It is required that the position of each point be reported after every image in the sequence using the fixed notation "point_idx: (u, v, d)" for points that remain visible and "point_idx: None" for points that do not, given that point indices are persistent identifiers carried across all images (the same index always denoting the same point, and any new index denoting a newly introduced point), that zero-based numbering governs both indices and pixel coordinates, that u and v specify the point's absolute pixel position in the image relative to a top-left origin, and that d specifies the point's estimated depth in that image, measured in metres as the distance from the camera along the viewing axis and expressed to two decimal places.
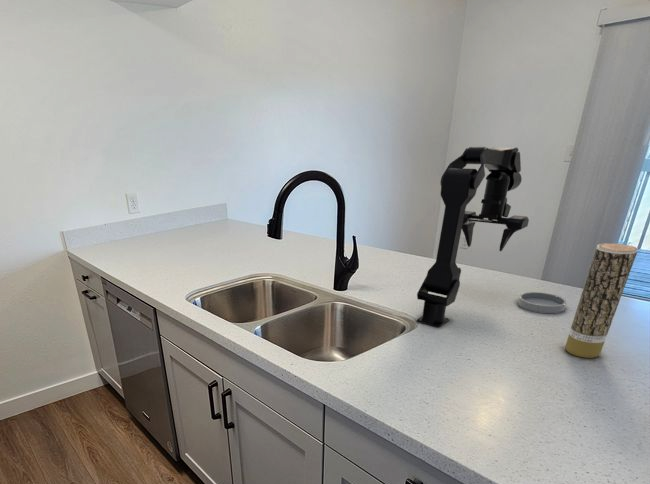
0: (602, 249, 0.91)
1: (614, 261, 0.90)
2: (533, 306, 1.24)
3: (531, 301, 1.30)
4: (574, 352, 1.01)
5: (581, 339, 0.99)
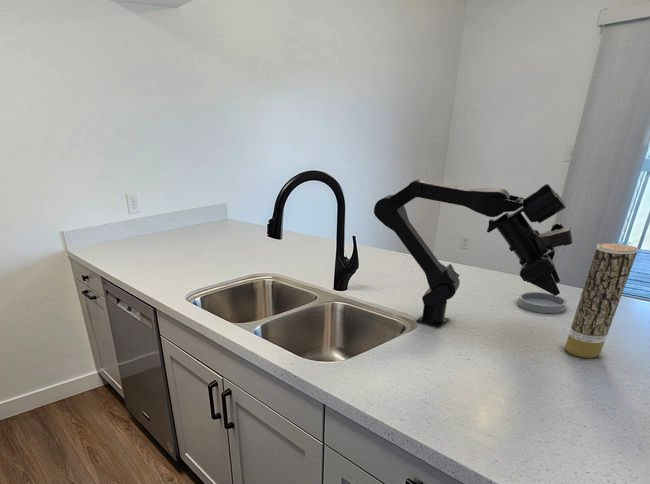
0: (602, 249, 0.91)
1: (614, 261, 0.90)
2: (533, 306, 1.24)
3: (531, 301, 1.30)
4: (574, 352, 1.01)
5: (581, 339, 0.99)
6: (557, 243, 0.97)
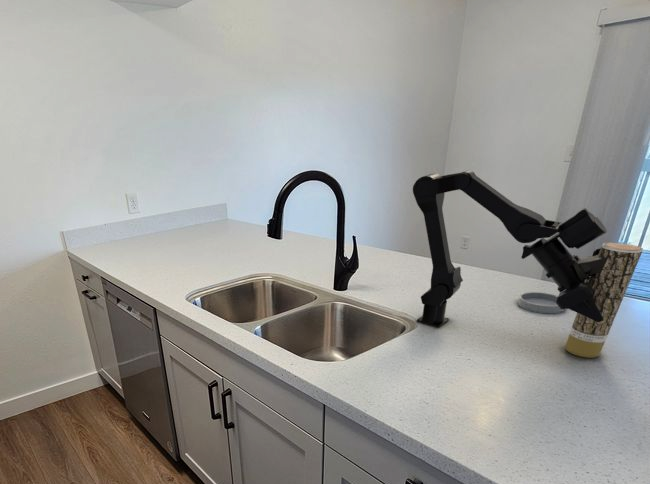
0: (608, 247, 0.91)
1: (619, 259, 0.89)
2: (533, 306, 1.24)
3: (531, 301, 1.30)
4: (574, 351, 1.00)
5: (582, 338, 0.98)
6: (598, 269, 0.93)
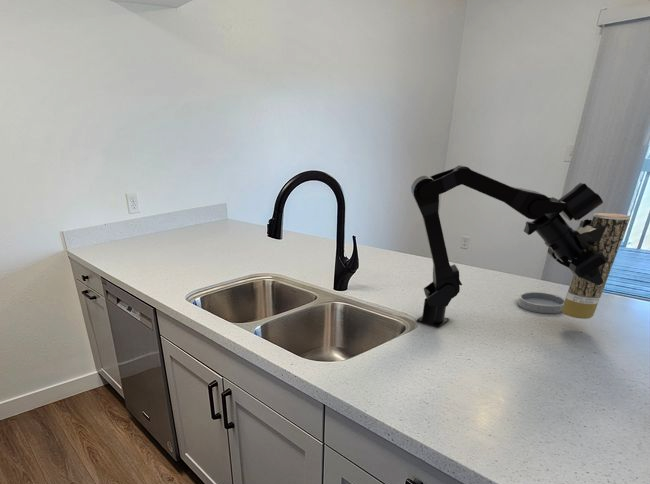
0: (605, 216, 1.00)
1: (617, 226, 0.99)
2: (533, 306, 1.24)
3: (531, 301, 1.30)
4: (577, 315, 1.09)
5: (584, 301, 1.07)
6: (598, 237, 1.02)
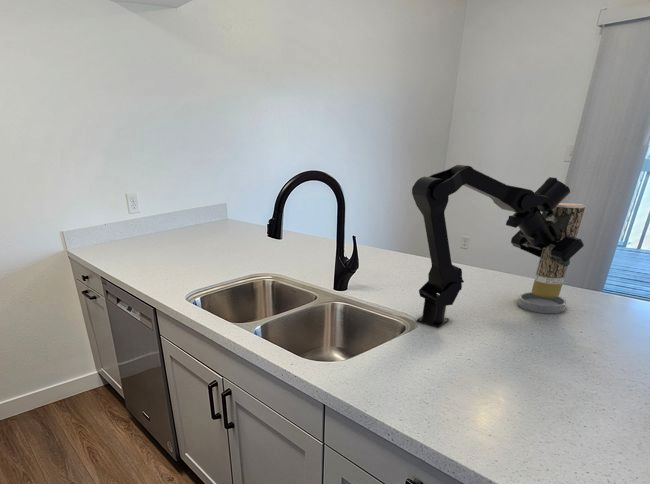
0: (570, 206, 1.13)
1: (579, 214, 1.13)
2: (533, 306, 1.24)
3: (531, 301, 1.30)
4: (550, 295, 1.22)
5: (555, 282, 1.20)
6: (565, 225, 1.14)
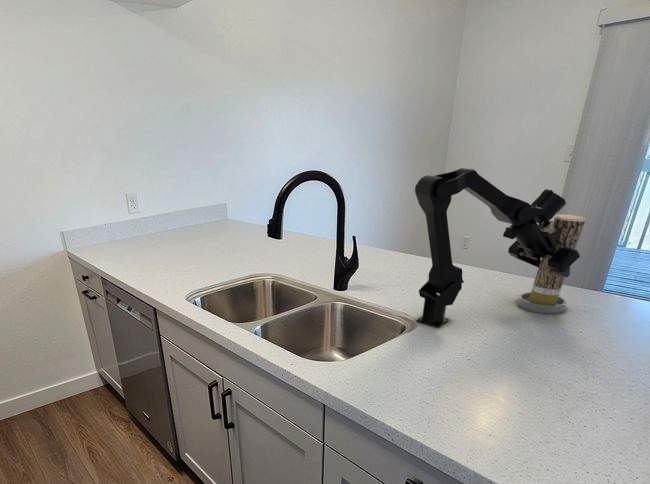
0: (570, 219, 1.13)
1: (579, 227, 1.14)
2: (533, 306, 1.24)
3: None
4: None
5: (552, 293, 1.22)
6: None
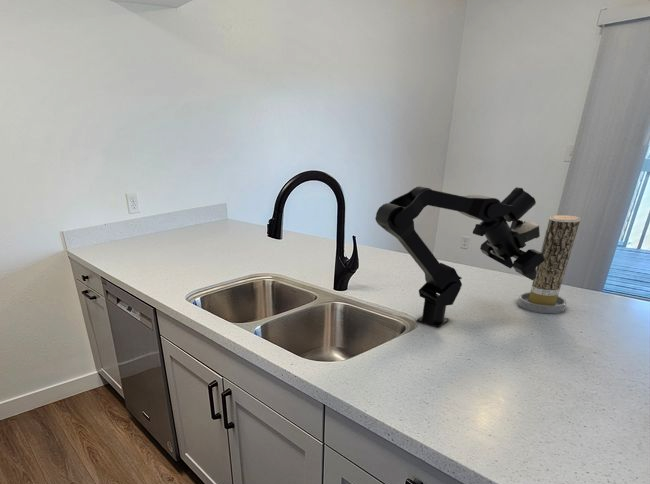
0: (565, 220, 1.13)
1: (574, 228, 1.14)
2: (533, 306, 1.24)
3: None
4: None
5: (551, 294, 1.22)
6: (531, 237, 1.14)
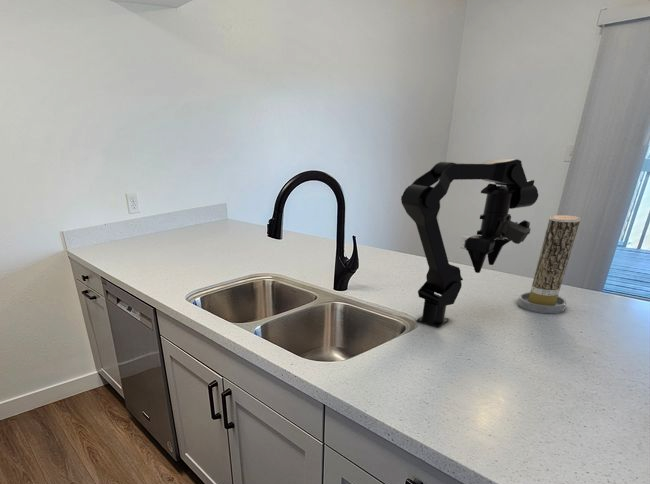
0: (565, 220, 1.13)
1: (574, 228, 1.14)
2: (533, 306, 1.24)
3: None
4: None
5: (551, 294, 1.22)
6: (509, 236, 1.11)
